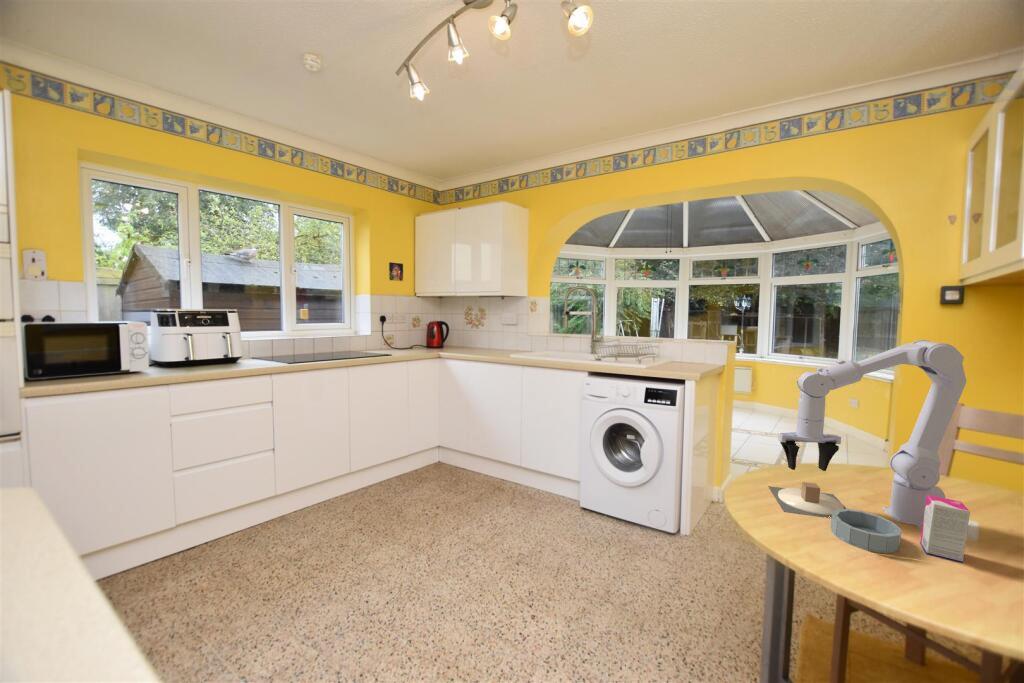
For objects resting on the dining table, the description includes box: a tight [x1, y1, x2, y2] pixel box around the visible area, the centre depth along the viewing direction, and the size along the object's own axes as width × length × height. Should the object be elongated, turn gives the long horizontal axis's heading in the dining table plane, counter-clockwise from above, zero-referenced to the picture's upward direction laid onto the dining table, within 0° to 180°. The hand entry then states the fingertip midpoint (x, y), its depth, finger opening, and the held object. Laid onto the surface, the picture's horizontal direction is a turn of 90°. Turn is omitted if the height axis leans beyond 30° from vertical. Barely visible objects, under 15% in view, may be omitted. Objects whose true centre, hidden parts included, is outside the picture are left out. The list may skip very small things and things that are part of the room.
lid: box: [778, 481, 845, 516], centre depth 117 cm, size 14×14×5 cm
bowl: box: [830, 508, 903, 555], centre depth 100 cm, size 12×12×4 cm
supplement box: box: [919, 495, 971, 564], centre depth 95 cm, size 6×6×12 cm
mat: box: [768, 485, 847, 519], centre depth 117 cm, size 16×16×1 cm
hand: (806, 469), depth 117 cm, fingers open, 7 cm apart
